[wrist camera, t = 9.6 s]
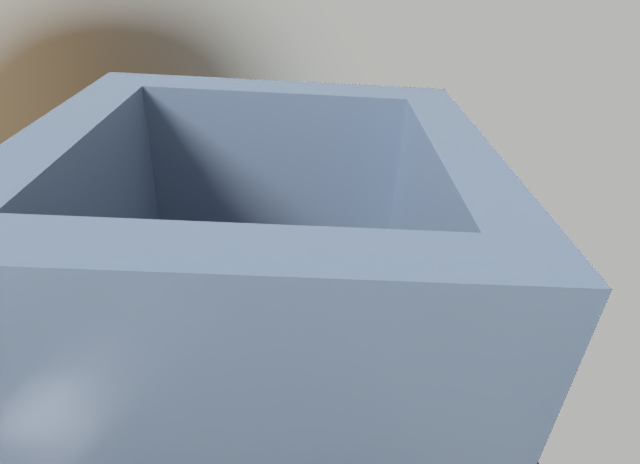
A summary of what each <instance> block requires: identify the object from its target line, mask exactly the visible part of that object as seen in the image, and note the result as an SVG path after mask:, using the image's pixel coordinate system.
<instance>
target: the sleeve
mask: <svg viewBox="0 0 640 464" xmlns="http://www.w3.org/2000/svg"><path fill="white" fill-rule="evenodd" d="M611 290H612V288H611V287H610V286H609V285H608V284H607V283H606V281H605V280H604V279H603V278H602V277H601V275H600V274H599V273H598V272H597V271H596V269H595V268H594V267H593V266H592V265H591V264H590V262H589V261H588V260H587V259H586V257H585V256H584V255H583V254H582V253H581V251H580V250H579V249H578V248H577V247H576V246H575V244H574V243H573V242H572V241H571V240H570V238H569V237H568V236H567V235H566V234H565V232H564V231H563V230H562V229H561V228H560V226H559V225H558V224H557V223H556V222H555V220H554V219H553V218H552V217H551V216H550V215H549V213H548V212H547V211H546V210H545V209H544V207H543V206H542V205H541V204H540V203H539V201H538V200H537V199H536V198H535V197H534V195H533V194H532V193H531V192H530V191H529V189H528V188H527V187H526V186H525V185H524V184H523V182H522V181H521V180H520V179H519V178H518V176H517V175H516V174H515V173H514V172H513V170H512V169H511V168H510V167H509V166H508V164H507V163H506V162H505V161H504V160H503V158H502V157H501V156H500V155H499V154H498V153H497V151H496V150H495V149H494V148H493V146H492V145H491V144H490V143H489V142H488V141H487V139H486V138H485V137H484V136H483V135H482V133H481V132H480V131H479V130H478V129H477V127H476V126H475V125H474V124H473V123H472V122H471V120H470V119H469V118H468V117H467V115H466V114H465V113H464V112H463V111H462V110H461V108H460V107H459V106H458V105H457V103H456V102H455V101H454V100H453V99H452V98H451V96H450V95H449V94H448V93H447V92H446V90H445V89H436V88H415V87H396V86H395V87H394V86H376V85H375V86H374V85H356V84H334V83H315V82H296V81H276V80H275V81H274V80H256V79H255V80H254V79H236V78H216V77H196V76H195V77H194V76H176V75H175V76H174V75H156V74H136V73H116V72H109V73H108V74H106V75H105V76H103V77H102V78H100V79H99V80H97V81H96V82H94V83H93V84H91V85H89V86H88V87H86V88H85V89H83V90H82V91H80V92H79V93H77V94H76V95H74V96H73V97H71V98H70V99H68V100H67V101H65V102H64V103H62V104H61V105H59V106H58V107H56V108H55V109H53V110H52V111H50V112H48V113H47V114H45V115H44V116H43V117H41V118H39V119H38V120H36V121H35V122H33V123H32V124H30V125H29V126H27V127H26V128H24V129H23V130H21V131H20V132H18V133H17V134H15V135H14V136H12V137H11V138H9V139H7V140H6V141H5V142H3V143H1V144H0V464H537V463H538V460H539V458H540V456H541V453H542V451H543V448H544V446H545V444H546V442H547V439H548V437H549V435H550V432H551V430H552V428H553V425H554V423H555V421H556V418H557V416H558V414H559V411H560V409H561V407H562V404H563V402H564V400H565V398H566V395H567V393H568V391H569V388H570V386H571V384H572V381H573V379H574V377H575V374H576V372H577V370H578V367H579V365H580V363H581V360H582V358H583V356H584V353H585V351H586V349H587V346H588V344H589V342H590V340H591V337H592V335H593V333H594V330H595V328H596V325H597V323H598V321H599V319H600V316H601V314H602V312H603V309H604V307H605V304H606V302H607V300H608V298H609V295H610V293H611Z"/></svg>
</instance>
